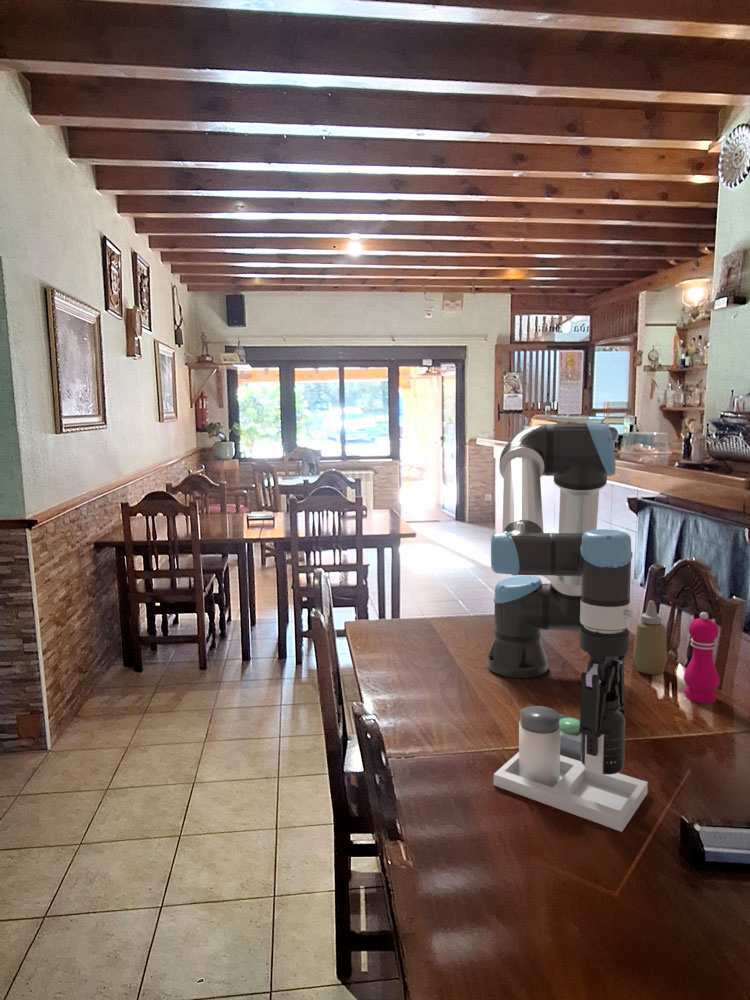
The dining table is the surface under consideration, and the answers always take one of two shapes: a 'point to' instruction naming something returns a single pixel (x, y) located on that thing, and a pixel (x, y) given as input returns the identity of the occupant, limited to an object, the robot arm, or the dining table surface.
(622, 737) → the supplement bottle
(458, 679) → the dining table surface
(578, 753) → the grey button base
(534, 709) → the lidded jar
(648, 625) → the squeeze bottle
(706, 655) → the pepper mill
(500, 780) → the tray
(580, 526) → the robot arm
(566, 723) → the button
